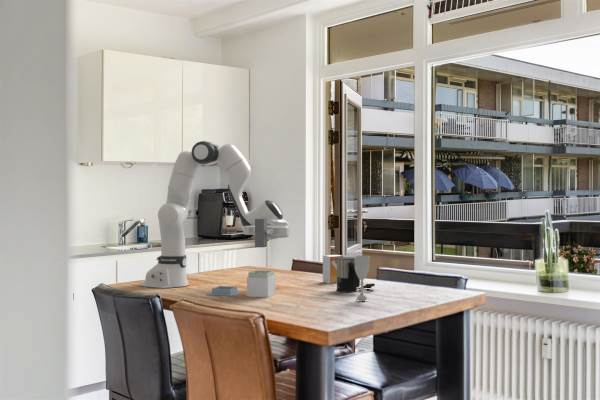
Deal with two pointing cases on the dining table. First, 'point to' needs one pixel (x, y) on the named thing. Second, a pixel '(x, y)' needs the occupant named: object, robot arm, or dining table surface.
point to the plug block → (260, 232)
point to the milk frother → (348, 275)
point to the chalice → (362, 272)
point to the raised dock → (260, 283)
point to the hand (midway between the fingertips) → (260, 231)
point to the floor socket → (224, 291)
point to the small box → (330, 268)
